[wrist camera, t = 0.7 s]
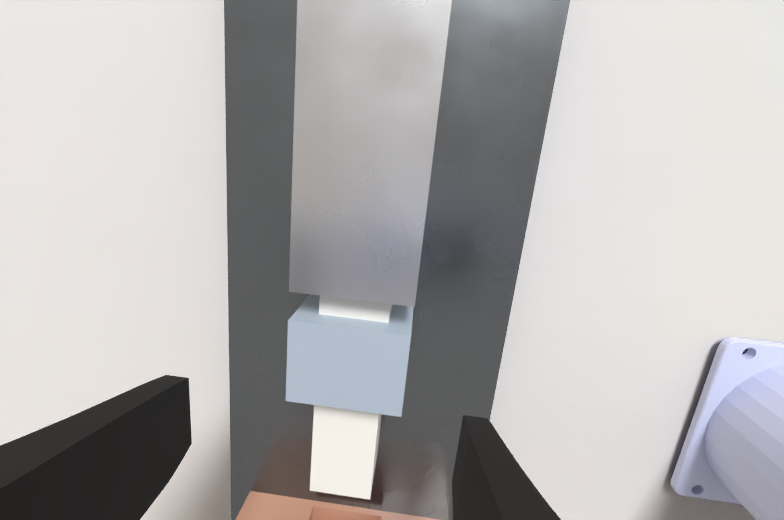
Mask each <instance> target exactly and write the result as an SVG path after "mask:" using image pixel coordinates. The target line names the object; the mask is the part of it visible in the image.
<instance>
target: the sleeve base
mask: <svg viewBox="0 0 784 520" xmlns="http://www.w3.org/2000/svg"><path fill="white" fill-rule="evenodd" d="M569 3H570V0H224V19H225V89H226V160H227V230H228V300H229V371H230V441H231V512H232V520H235V519H236V518H237V516H238V514H239V512H240V510H241V508H242V506H243V504H244V502H245V500H246V498H247V496H248V495H249V493H250V491H255V492H261V493H268V494H274V495H281V496H288V497H294V498H301V499H307V500H314V501H320V502H327V503H334V504H340V505H347V506H353V507H360V508H367V509H373V510H380V511H386V512H393V513H400V514H406V515H413V516H419V517H426V518H433V519H439V520H453V502H452V478H453V472H454V466H455V460H456V454H457V448H458V442H459V437H460V431H461V425H462V419H463V415H467V416H474V417H482V418H488V420H490V415H491V410H492V404H493V399H494V394H495V389H496V384H497V378H498V373H499V368H500V363H501V358H502V352H503V347H504V342H505V337H506V331H507V326H508V321H509V316H510V311H511V305H512V300H513V295H514V290H515V285H516V279H517V274H518V269H519V264H520V258H521V253H522V248H523V243H524V238H525V232H526V227H527V222H528V217H529V212H530V206H531V201H532V196H533V191H534V185H535V180H536V175H537V170H538V165H539V159H540V154H541V149H542V144H543V139H544V133H545V128H546V123H547V118H548V112H549V107H550V102H551V97H552V92H553V86H554V81H555V76H556V71H557V66H558V60H559V55H560V50H561V45H562V39H563V34H564V29H565V24H566V19H567V13H568V8H569ZM310 294H312V295H320V296H328V297H337V298H345V299H353V300H361V301H369V302H377V303H385V304H394V305H402V306H410V307H413V319H412V332H411V342H410V350H409V358H408V366H407V375H406V383H405V391H404V399H403V408H402V416H401V417H398V416H391V415H383V414H382V416H381V425H380V435H379V444H378V454H377V460H376V466H375V473H374V479H373V485H372V491H371V497H370V500H369V499H362V498H356V497H349V496H342V495H336V494H329V493H322V492H316V491H310V474H311V455H312V435H313V416H314V405H311V404H304V403H296V402H289V401H286V370H287V336H288V320H289V319H290V318H291V316H292V315H293V314H294V313H295V312H296V310H297V309H298V308H299V307H300V306H301V304H302V303H303V302H304V301H305V300H306V298H307V297H308V296H309V295H310Z"/></svg>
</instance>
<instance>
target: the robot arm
mask: <svg viewBox="0 0 784 520" xmlns="http://www.w3.org/2000/svg"><path fill="white" fill-rule="evenodd" d="M747 348H748V351H747V352H746V353H745V354H742V353H743V351H744V350H745V349H747ZM191 444H192V443H191V421H190V400H189V378H184V377H176V376H169V375H165V376H163V377H160V378H157V379H155V380H152V381H150V382H147V383H145V384H143V385H140V386H138V387H136V388H134V389H131V390H129V391H127V392H125V393H122V394H120V395H118V396H116V397H114V398H111V399H109V400H107V401H105V402H102V403H100V404H98V405H96V406H93V407H91V408H89V409H87V410H85V411H82V412H80V413H78V414H76V415H73V416H71V417H69V418H66V419H64V420H62V421H59V422H57V423H54V424H52V425H50V426H47V427H45V428H42V429H40V430H38V431H35V432H33V433H30V434H28V435H26V436H23V437H21V438H18V439H16V440H14V441H11V442H8V443H6V444H3V445H1V446H0V520H140V519H141V517H142V516H143V515H144V513H145V512H146V511H147V510H148V508H149V507H150V506H151V504H152V503H153V502H154V500H155V499H156V498H157V497H158V495H159V494H160V493H161V491H162V490H163V489H164V487H165V486H166V485H167V483H168V482H169V480H170V479H171V477H172V475H173V474H174V472H175V471H176V469H177V467H178V466H179V464H180V463H181V461H182V459H183V457H184V456H185V454H186V452H187V450H188V449H189V447H190V445H191ZM670 484H671V486H672V488H673V489H674V491H675V492H676V493H677V494H678V495H681V496H686V497H693V498H700V499H707V500H714V501H721V502H728V503H735V504H742V505H743V506H744V507H745V508H746V510H747V511H748V512H749V513H750V514H751V515H752V516H753V517H754V518H755V519H756V520H784V343H777V342H769V341H760V340H752V339H744V338H736V337H730V338H727V339H724V340H723V341H722V342H720V344H719V346H718V348H717V351H716V354H715V357H714V359H713V362H712V365H711V368H710V371H709V374H708V376H707V379H706V382H705V385H704V388H703V391H702V393H701V396H700V399H699V402H698V405H697V408H696V410H695V413H694V416H693V419H692V422H691V425H690V427H689V430H688V433H687V436H686V439H685V442H684V444H683V447H682V450H681V453H680V456H679V459H678V461H677V464H676V467H675V470H674V473H673V476H672V478H671V483H670ZM696 485H697V486H696ZM694 486H695V487H694ZM452 502H453V520H561V519H560V518H559V517H558V516H557V514H556V513H555V512H554V511H553V510H552V508H551V507H550V506H549V505H548V503H547V502H546V501H545V499H544V498H543V497H542V495H541V494H540V493H539V492H538V490H537V489H536V487H535V486H534V485H533V483H532V482H531V481H530V479H529V478H528V477H527V475H526V474H525V472H524V471H523V470H522V468H521V467H520V465H519V464H518V463H517V461H516V460H515V458H514V457H513V455H512V454H511V452H510V451H509V450H508V448H507V447H506V445H505V444H504V442H503V441H502V439H501V438H500V436H499V434H498V433H497V431H496V430H495V428H494V427H493V425H492V424H491V422H490V421H489V420H488V418H482V417H474V416H467V415H463V419H462V425H461V431H460V437H459V442H458V448H457V454H456V460H455V466H454V472H453V478H452Z"/></svg>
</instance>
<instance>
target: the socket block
mask: <svg viewBox="0 0 784 520" xmlns="http://www.w3.org/2000/svg"><path fill="white" fill-rule="evenodd" d="M235 520H439V519H433V518H426V517H419V516H413V515H406V514H400V513H393V512H386V511H380V510H373V509H367V508H360V507H353V506H347V505H340V504H334V503H327V502H320V501H314V500H307V499H301V498H294V497H288V496H281V495H274V494H268V493H261V492H255V491H250V493H249V495H248V496H247V498H246V500H245V502H244V504H243V506H242V508H241V510H240V512H239V514H238V516H237V518H236V519H235Z"/></svg>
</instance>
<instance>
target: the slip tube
mask: <svg viewBox="0 0 784 520" xmlns="http://www.w3.org/2000/svg"><path fill="white" fill-rule="evenodd" d="M412 319H413V307H410V306H402V305H394V304H385V303H377V302H369V301H361V300H353V299H345V298H337V297H328V296H320V295H312V294H310V295H309V296H308V297H307V298H306V300H305V301H304V302H303V303H302V304H301V306H300V307H299V308H298V309H297V310H296V312H295V313H294V314H293V315H292V316H291V318H290V319H289V320H288V336H287V370H286V401H289V402H296V403H304V404H311V405H314V416H313V435H312V455H311V474H310V491H316V492H322V493H329V494H336V495H342V496H349V497H356V498H362V499H369V500H370V497H371V491H372V485H373V479H374V473H375V466H376V460H377V454H378V444H379V435H380V425H381V416H382V414H383V415H391V416H398V417H401V416H402V408H403V399H404V391H405V383H406V375H407V366H408V358H409V350H410V342H411V332H412Z"/></svg>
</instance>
